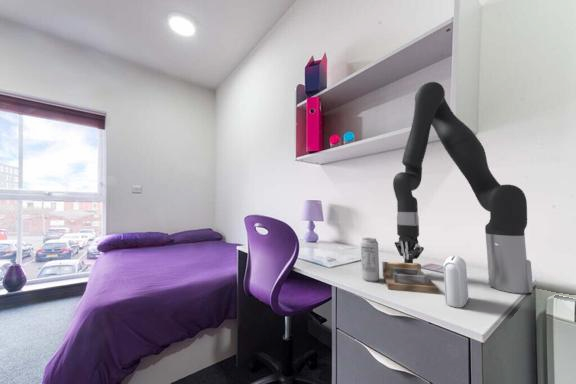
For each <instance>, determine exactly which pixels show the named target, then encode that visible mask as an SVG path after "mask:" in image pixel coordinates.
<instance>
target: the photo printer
mask: <svg viewBox="0 0 576 384" xmlns="http://www.w3.org/2000/svg"><path fill="white" fill-rule="evenodd" d="M467 271H468V270H467V263H466V261H465V260H464V258H462V257H461V256H459V255H457V256H455V255H451V256H449V257H447V258H446V260H445V262H444V263H443V285H444V286H443V287H444V300H445V304H447V305H448V306H450V307H454V308H457V309H458V308H463V307H465V305H466V304H467V302H468V299H469V289H468V288H469V287H468V275H467V274H468V273H467Z"/></svg>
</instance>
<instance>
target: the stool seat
mask: <svg viewBox="0 0 576 384" xmlns="http://www.w3.org/2000/svg"><path fill="white" fill-rule="evenodd" d="M382 278H383V280H384V282H385V284H386V287H387V290H390V291H391V290H393V291H403V292H412V293H415V292H416V293H426V294H437V295H439V294H440V289H439V288H440V287H439V286H438V285H436V284H435V283H434V282H433V281H432V280H431V279H430V278H429V276H428V275H426V273H424V271H422V269H421V270H420V269H409V268H393V267H390V273H383V272H382Z"/></svg>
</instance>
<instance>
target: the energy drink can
mask: <svg viewBox="0 0 576 384" xmlns="http://www.w3.org/2000/svg"><path fill="white" fill-rule="evenodd" d="M361 239H362V240H361V241H360V260H361V261H360V262H361V263H360V264H361V265H360V267H361V271H360V272H361V279H363V281H365V282H369V283H370V282H371V283H376V282H378V281H379V280H380V261H379V259H380V258H379V242H378V240H377V237H361Z"/></svg>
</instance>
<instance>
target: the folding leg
mask: <svg viewBox="0 0 576 384" xmlns="http://www.w3.org/2000/svg"><path fill="white" fill-rule="evenodd" d="M381 264H382V274H383V273H390V267H393V268H409V269H420V270H421V271H422V264H420V263H417V262H416V263H415V262H413V263H404V262H389V261H382V262H381Z"/></svg>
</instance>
